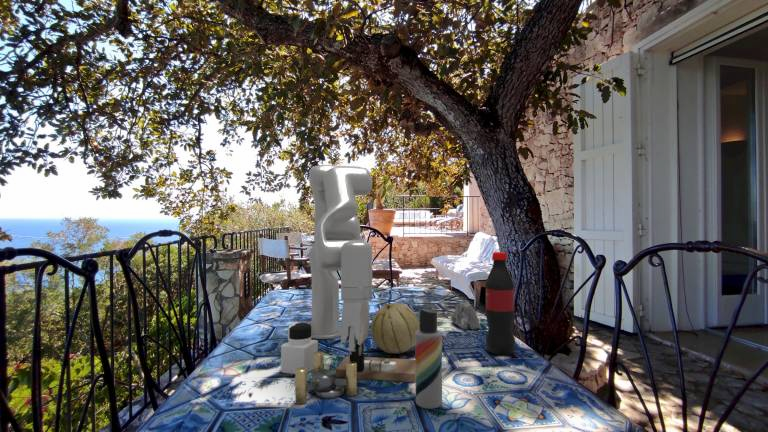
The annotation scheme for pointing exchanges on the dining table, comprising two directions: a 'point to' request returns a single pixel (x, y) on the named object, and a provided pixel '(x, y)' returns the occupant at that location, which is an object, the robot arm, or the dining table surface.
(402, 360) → the level board
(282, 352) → the medicine bottle
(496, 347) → the cola bottle
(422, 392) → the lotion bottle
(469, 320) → the mineral rock
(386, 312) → the cantaloupe
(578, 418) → the dining table surface
